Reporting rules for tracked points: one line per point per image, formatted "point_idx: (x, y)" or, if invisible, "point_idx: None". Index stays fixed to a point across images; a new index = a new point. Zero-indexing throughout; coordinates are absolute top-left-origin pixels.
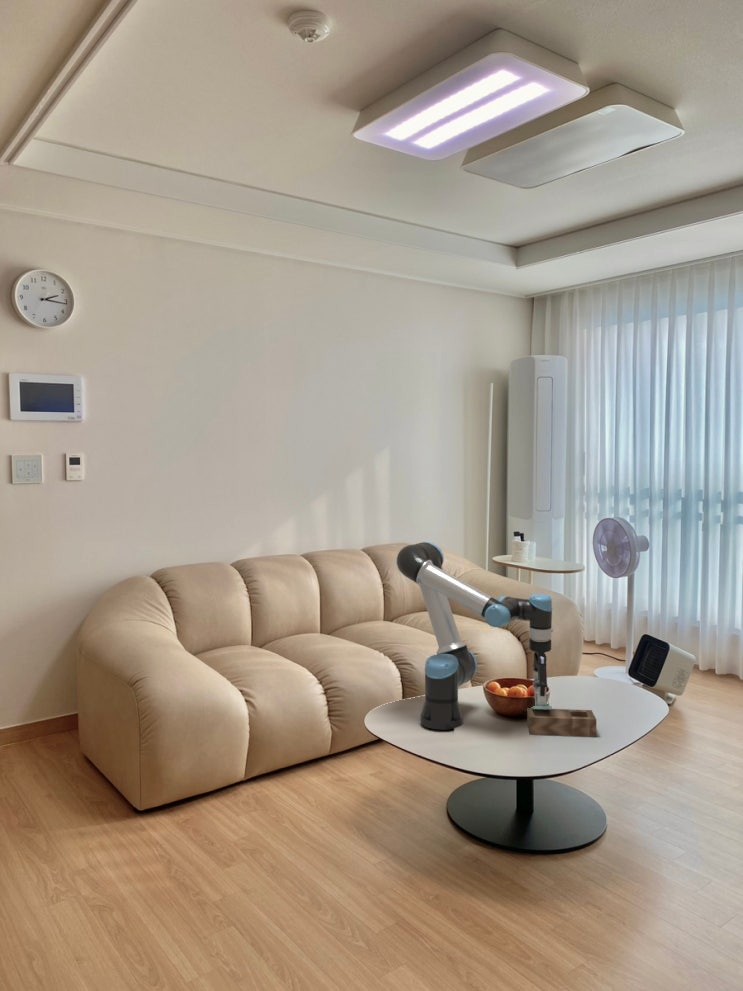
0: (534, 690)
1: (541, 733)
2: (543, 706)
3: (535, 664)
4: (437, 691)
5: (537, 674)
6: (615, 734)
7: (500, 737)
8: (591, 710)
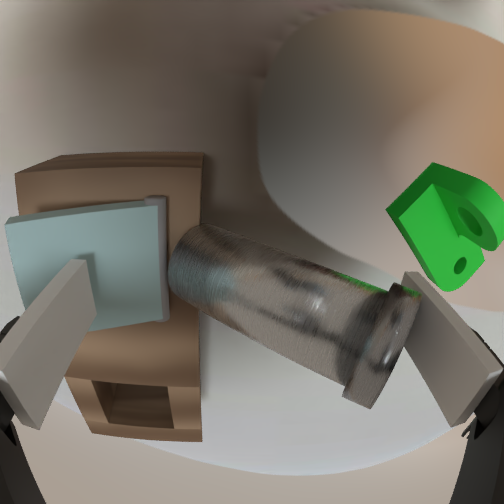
0: (328, 280)
1: None
2: (19, 289)
3: (489, 500)
4: None
5: (459, 384)
6: None
7: (29, 30)
8: (198, 441)
